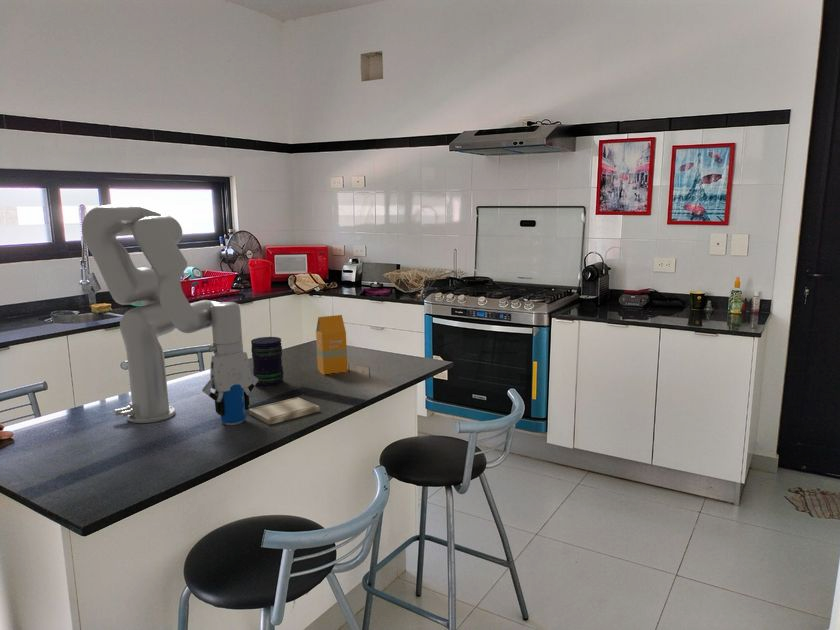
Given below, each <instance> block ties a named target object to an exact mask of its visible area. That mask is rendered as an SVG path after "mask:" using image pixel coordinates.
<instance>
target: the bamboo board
mask: <svg viewBox="0 0 840 630" xmlns="http://www.w3.org/2000/svg"><path fill="white" fill-rule="evenodd" d="M318 412H320V406H319V405H317V404H315V403H312V402H310V401H308V400H305V399H303V398H301V397H299V396H297V397H293V398H288V399H285V400H281V401H277V402H273V403H268V404H264V405H260V406H256V407H252V408H249V409H248V415H249V416H252V417H253V418H255V419H257V420H259V421H261V422H263V423H265V424H267V425H269V426H270V424H271V425H273V424H278V423H281V422H285V420H286V421H289V420H292V419H296V418H297V419H298V418H299V417H304V416H307V415H311V414H315V413H318Z"/></svg>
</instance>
